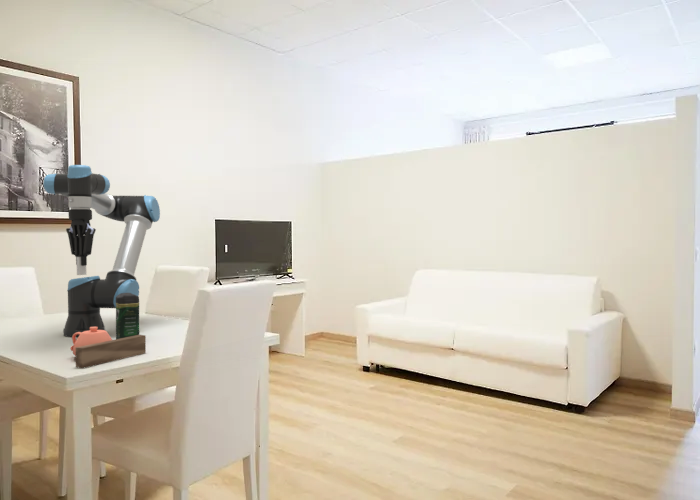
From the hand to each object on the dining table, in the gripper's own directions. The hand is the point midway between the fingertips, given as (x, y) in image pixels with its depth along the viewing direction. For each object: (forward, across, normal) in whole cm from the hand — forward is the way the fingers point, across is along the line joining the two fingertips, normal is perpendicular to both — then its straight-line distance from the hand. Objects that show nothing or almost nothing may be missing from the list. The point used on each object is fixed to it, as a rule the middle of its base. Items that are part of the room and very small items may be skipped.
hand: (81, 274), depth 193 cm
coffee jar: (+26, +8, +13) cm, 30 cm away
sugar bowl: (+26, +19, -11) cm, 34 cm away
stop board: (+26, +27, -9) cm, 38 cm away
